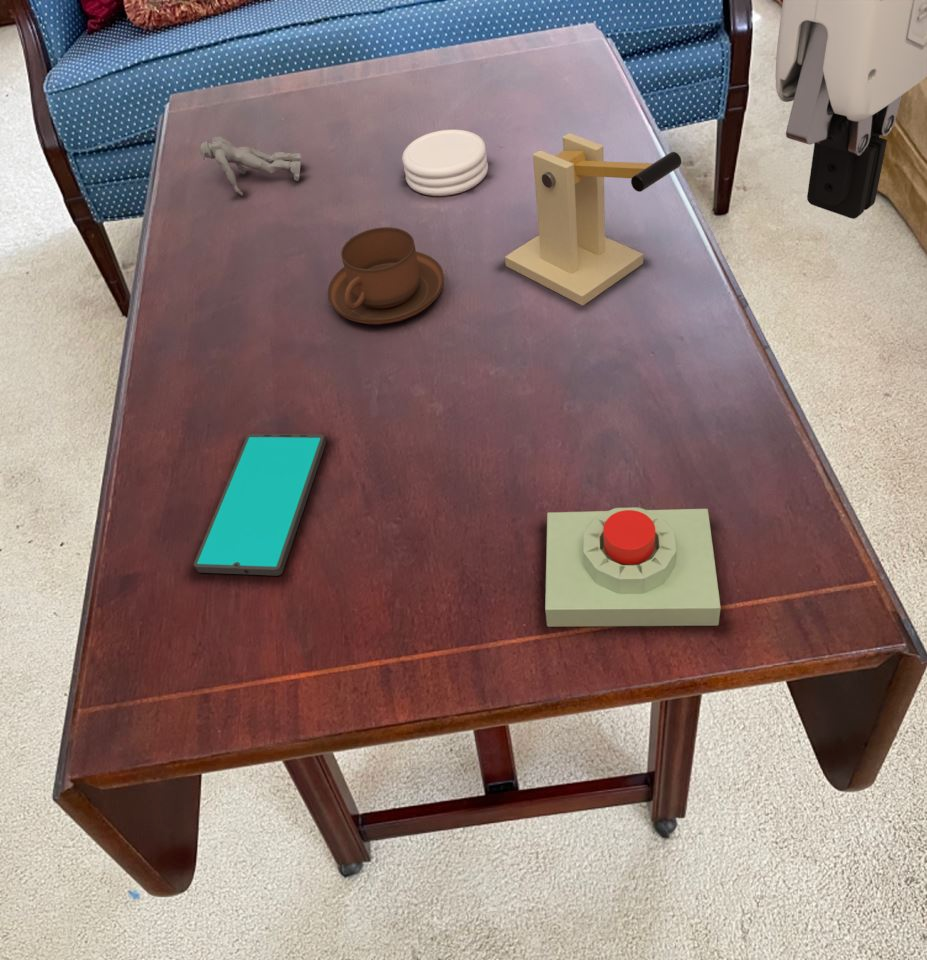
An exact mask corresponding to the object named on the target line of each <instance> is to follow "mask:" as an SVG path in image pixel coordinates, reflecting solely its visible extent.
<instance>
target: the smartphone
mask: <svg viewBox="0 0 927 960" xmlns="http://www.w3.org/2000/svg"><path fill="white" fill-rule="evenodd" d="M326 444H327V441H326V438H325V435H324V434H322V433H249V434H247V435H246V437H245V439H244V442H243V444H242V446H241V449H240V452H239V454H238V456H237V459H236V460H235V463H234V466H233V469H232V470H231V473H230V476H229V477H228V480H227V483H226V485H225V487H224V490H223V493H222V495H221V497H220V499H219V501H218V505H217V506H216V509H215V512H214V513H213V516H212V519H211V521H210V523H209V526H208V528H207V530H206V533H205V536H204V538H203V540H202V543H201V544H200V547H199V550H198V552H197V555H196V557H195V559H194V562H193V566H194V568H195V570H196V572H197V573H201V574H223V575H224V574H225V575H226V574H227V575H250V576H251V575H252V576H274V577H275V576H281V575H282V574H283V572H284V569H285V565H286V563H287V561H288V558H289V556H290V552H291V548H292V545H293V542H294V540H295V537H296V533H297V531H298V528H299V525H300V522H301V519H302V515H303V514H304V513H303V512H304V510H305V507H306V504H307V501H308V499H309V495H310V492H311V489H312V487H313V486H312V485H313V483H314V480H315V477H316V473H317V471H318V469H319V465H320V462H321V460H322V459H321V458H322V457H323V454H324V451H325V447H326Z"/></svg>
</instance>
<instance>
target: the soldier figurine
mask: <svg viewBox="0 0 927 960" xmlns="http://www.w3.org/2000/svg"><path fill="white" fill-rule="evenodd" d="M210 141H211V142H209V140H204V141H203V142H201V144H200V147H199V151H200V155H201V158H202V160H203V161H205V158H207V159H211V160H212V159H213V160H214V159H215V161H216V162H217V164H218V166H220V167H221V169H222V170H223V172H225V174H226V175H225V176H226V178H227V180H228V181H229V183H230V184H231V185H232V186H233V188H234V191H235V192H236V193H237V194H238V195H240V196H242V197H243V196H244V193H243V192H242V191H241V190H240V188H239V186H238V182H237V177H236V174H235V172H234V170H233V169H232V167H231V165H230V164H235V165H236V167H237V170H238V172H239V173H240V174H242V175H245V174H246V173H247V171H246V170H247V168H250V169H253V170H256V171H259V172H260V171H263V172H264V171H265V172H267V173H270V174H275V173H277V172H278V171H281V170H286V171H288V170H289V171H290V172H291V173H292V174H293V179H294V181H296V182H299V181H300V174H301V164H302V162H301V161H302V160H301V159H302V153H301V152H292V153H291V152H287V153H286V152H283V151H277V152H273V153H272V154H268V153H266V152H264V151H261V150H259V149H257V148H256V149H255V148H253V147H249V146H245V145H244V146H238V147H236V146H234V144H233V143H232V142H230V141H229V140H228V139H225V138H224V137H223V136H221V135H219V136H213V137H212V138H211V139H210Z"/></svg>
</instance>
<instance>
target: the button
mask: <svg viewBox="0 0 927 960" xmlns="http://www.w3.org/2000/svg"><path fill="white" fill-rule="evenodd" d="M603 538H604V549H605V552H606V553H607V555H608V556H609V557H610V558H611V559H613V560H614V561H616V562H619V563H622V564H629V565H631V564H638V563H641V562H643V561H645V560H647V559H648V558H649V557H650V556H651V555H652V553H653V551H654V548H655V525H654V523H653V521H652V520H651V519H650V518H649V517H648V516H647V515H645V514H644V513H641V512H639V511H634V510H624V511H619V512H617V513H615V514H613V515H611V516H610V517H609V518H608V519H607V520H606V522H605V524H604V527H603Z"/></svg>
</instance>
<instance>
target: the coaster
mask: <svg viewBox="0 0 927 960" xmlns="http://www.w3.org/2000/svg"><path fill="white" fill-rule="evenodd" d="M401 159H402V161H401V162H402V164H403V171H404V174H405V182H406V183H407V185H408V187H409V188H410V189H412V190H413V191H415V192H417V193H419V194H422V195H424V196H425V195H426V196H432V197H446V196H452V195H458V194H462V193H464V192H467V191H469V190H471V189H473V188H474V187H476V186H477V185H478V184H480V183H481V182H482V181H483V180H484V179H485V177H486V176H487V174H488V171H489V163H488V154H487V145H486V143H485V140H484V139H483V138H482V137H480V136H479V135H478V134H476V133H474V132H472V131H468V130H463V129H442V130H436V131H433V132H429V133H426V134H424V135H421V136H419V137H417V138H416V139H414V140H413V141H412V142H410V143H409V144H408V145H407V146H406V147H405V149H404V151H403V153H402V157H401Z"/></svg>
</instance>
